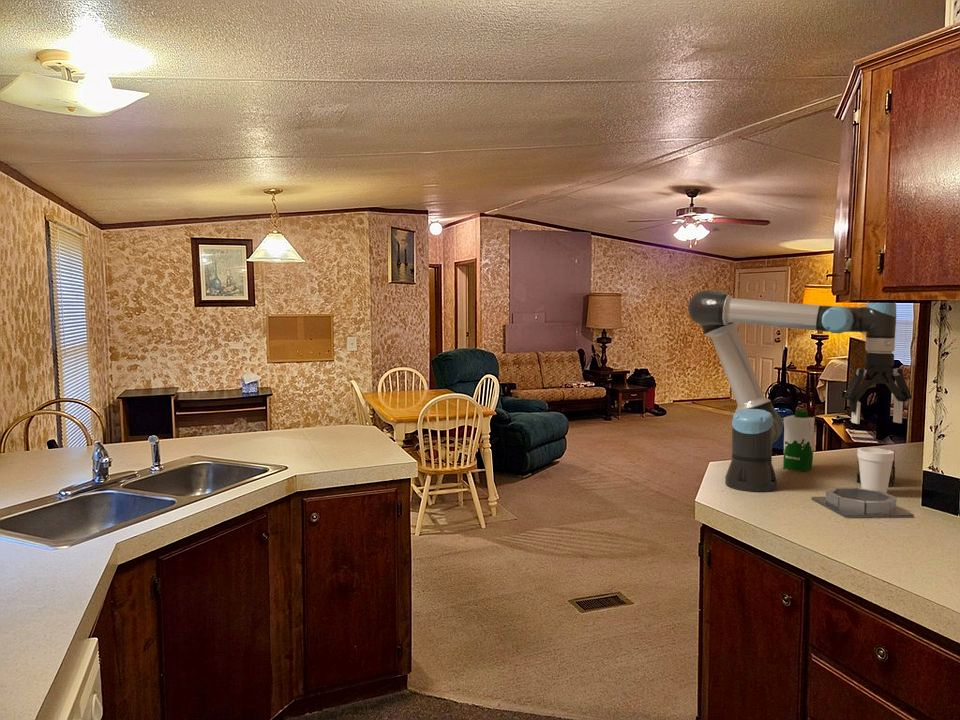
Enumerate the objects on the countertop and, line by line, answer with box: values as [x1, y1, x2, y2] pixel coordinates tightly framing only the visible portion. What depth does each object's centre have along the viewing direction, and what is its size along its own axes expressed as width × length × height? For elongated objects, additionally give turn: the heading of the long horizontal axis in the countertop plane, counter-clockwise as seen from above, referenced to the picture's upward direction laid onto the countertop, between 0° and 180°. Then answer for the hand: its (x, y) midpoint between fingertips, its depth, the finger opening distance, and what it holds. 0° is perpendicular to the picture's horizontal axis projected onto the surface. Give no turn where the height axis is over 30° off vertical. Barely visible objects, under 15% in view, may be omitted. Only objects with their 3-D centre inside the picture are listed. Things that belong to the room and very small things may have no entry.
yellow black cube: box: [856, 449, 896, 488], centre depth 217 cm, size 10×10×10 cm
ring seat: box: [811, 486, 915, 519], centre depth 188 cm, size 18×18×4 cm
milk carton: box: [782, 409, 816, 473], centre depth 235 cm, size 9×9×20 cm
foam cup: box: [856, 447, 894, 494], centre depth 203 cm, size 10×9×13 cm
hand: (876, 422), depth 204 cm, fingers open, 13 cm apart
